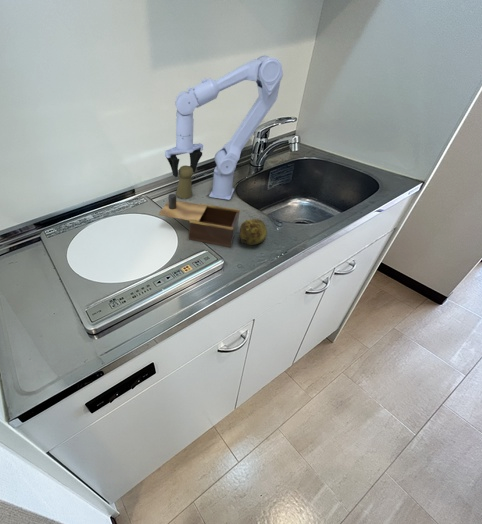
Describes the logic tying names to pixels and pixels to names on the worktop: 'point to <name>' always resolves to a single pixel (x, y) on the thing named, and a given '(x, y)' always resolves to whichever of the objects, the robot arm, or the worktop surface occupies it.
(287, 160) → the worktop surface
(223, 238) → the box
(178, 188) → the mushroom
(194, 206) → the sliding lid
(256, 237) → the potato
